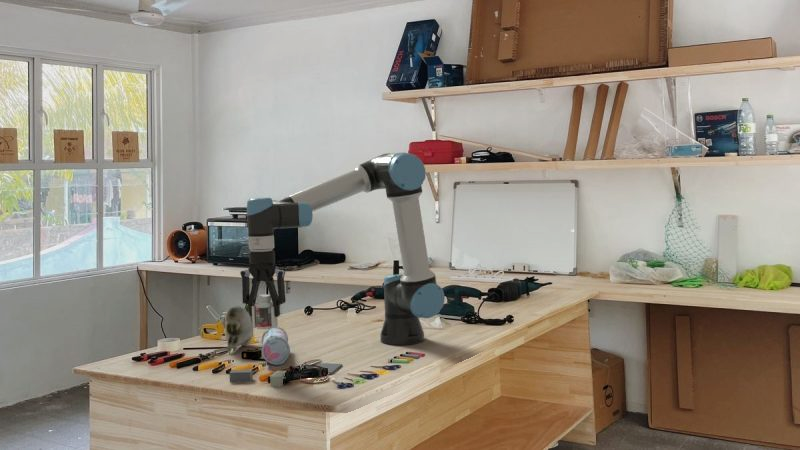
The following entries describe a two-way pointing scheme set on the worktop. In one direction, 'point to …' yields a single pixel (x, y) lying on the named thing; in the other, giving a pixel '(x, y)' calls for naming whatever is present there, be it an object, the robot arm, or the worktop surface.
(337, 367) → the slate mat
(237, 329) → the toy
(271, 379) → the sage brick
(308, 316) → the worktop surface
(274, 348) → the pencil case
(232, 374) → the charcoal brick
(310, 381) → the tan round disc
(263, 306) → the pill bottle
